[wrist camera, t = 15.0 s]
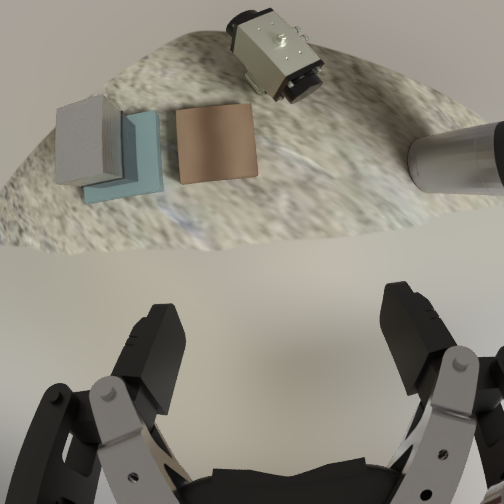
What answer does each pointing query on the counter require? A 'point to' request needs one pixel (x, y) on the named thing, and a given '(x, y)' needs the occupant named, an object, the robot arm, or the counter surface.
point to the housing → (94, 145)
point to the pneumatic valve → (274, 55)
